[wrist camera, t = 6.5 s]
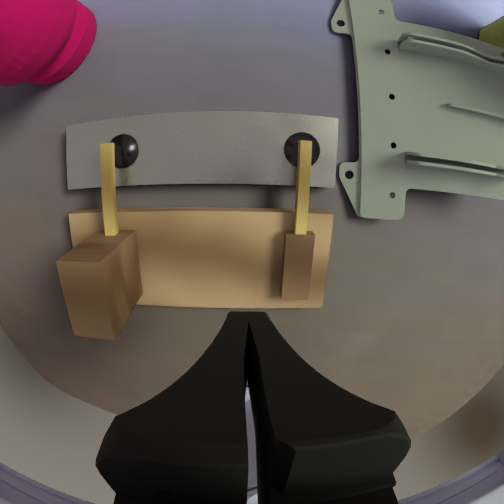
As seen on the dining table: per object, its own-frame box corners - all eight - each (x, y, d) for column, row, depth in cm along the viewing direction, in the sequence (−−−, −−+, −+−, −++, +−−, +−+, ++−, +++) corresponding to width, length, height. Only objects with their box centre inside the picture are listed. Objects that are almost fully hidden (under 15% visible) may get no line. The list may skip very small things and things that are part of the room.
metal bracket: (525, 26, 7) (534, 238, 12) (491, 44, 13) (497, 217, 18) (326, -21, 11) (339, 223, 16) (328, 15, 16) (336, 204, 21)
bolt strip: (329, 185, 17) (335, 188, 16) (75, 187, 16) (67, 189, 15) (332, 120, 16) (338, 118, 15) (74, 126, 15) (65, 126, 14)
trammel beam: (317, 298, 19) (324, 313, 18) (90, 292, 19) (78, 305, 17) (332, 144, 16) (343, 144, 14) (74, 149, 15) (57, 150, 14)
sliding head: (143, 293, 17) (115, 340, 13) (108, 291, 17) (74, 335, 12) (132, 141, 14) (89, 140, 10) (95, 145, 14) (44, 148, 9)
